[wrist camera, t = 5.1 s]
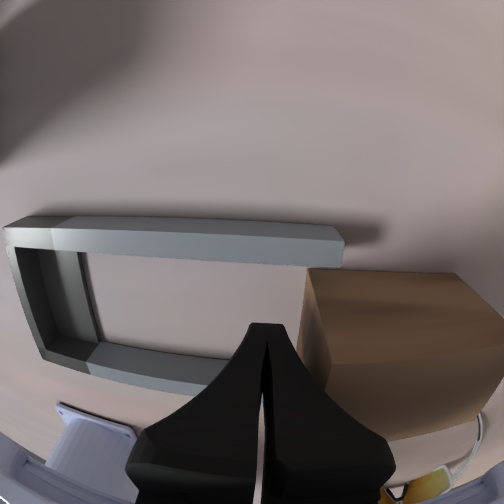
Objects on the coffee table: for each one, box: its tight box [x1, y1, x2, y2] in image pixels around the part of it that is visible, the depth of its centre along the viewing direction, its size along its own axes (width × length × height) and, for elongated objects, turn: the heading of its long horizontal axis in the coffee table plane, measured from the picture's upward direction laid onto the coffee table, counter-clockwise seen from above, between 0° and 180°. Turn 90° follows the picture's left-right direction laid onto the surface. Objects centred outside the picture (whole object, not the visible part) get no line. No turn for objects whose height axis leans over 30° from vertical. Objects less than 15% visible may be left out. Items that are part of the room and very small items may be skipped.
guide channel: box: [2, 216, 345, 403], centre depth 13 cm, size 8×16×2 cm, turn 88°
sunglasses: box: [378, 413, 483, 504], centre depth 18 cm, size 14×15×5 cm
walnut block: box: [297, 269, 504, 442], centre depth 10 cm, size 4×8×6 cm, turn 88°
